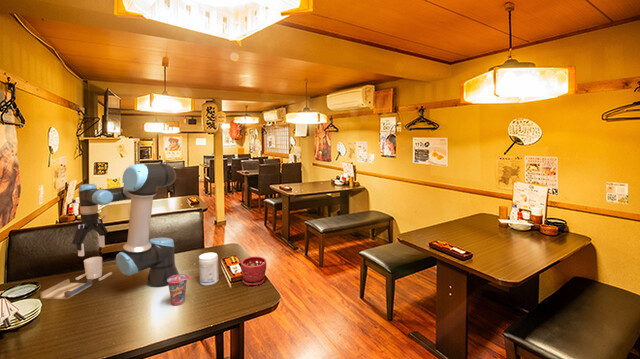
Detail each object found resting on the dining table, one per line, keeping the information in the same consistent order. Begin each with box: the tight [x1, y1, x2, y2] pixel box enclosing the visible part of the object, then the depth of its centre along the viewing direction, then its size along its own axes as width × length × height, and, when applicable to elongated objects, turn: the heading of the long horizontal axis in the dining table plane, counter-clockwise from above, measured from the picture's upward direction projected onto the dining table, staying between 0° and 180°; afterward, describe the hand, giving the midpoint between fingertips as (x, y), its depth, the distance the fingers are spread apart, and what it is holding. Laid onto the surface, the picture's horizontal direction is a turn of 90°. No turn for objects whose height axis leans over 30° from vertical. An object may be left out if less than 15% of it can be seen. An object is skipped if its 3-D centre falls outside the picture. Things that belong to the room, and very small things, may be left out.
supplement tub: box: [198, 251, 220, 286], centre depth 152 cm, size 10×10×15 cm
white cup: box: [83, 256, 103, 280], centre depth 156 cm, size 8×8×10 cm
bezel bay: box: [39, 278, 94, 300], centre depth 141 cm, size 13×14×3 cm
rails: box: [75, 271, 113, 282], centre depth 157 cm, size 14×8×1 cm, turn 88°
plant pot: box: [240, 256, 267, 286], centre depth 152 cm, size 13×13×12 cm
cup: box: [167, 273, 191, 307], centre depth 131 cm, size 9×8×12 cm
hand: (92, 251), depth 155 cm, fingers open, 13 cm apart
